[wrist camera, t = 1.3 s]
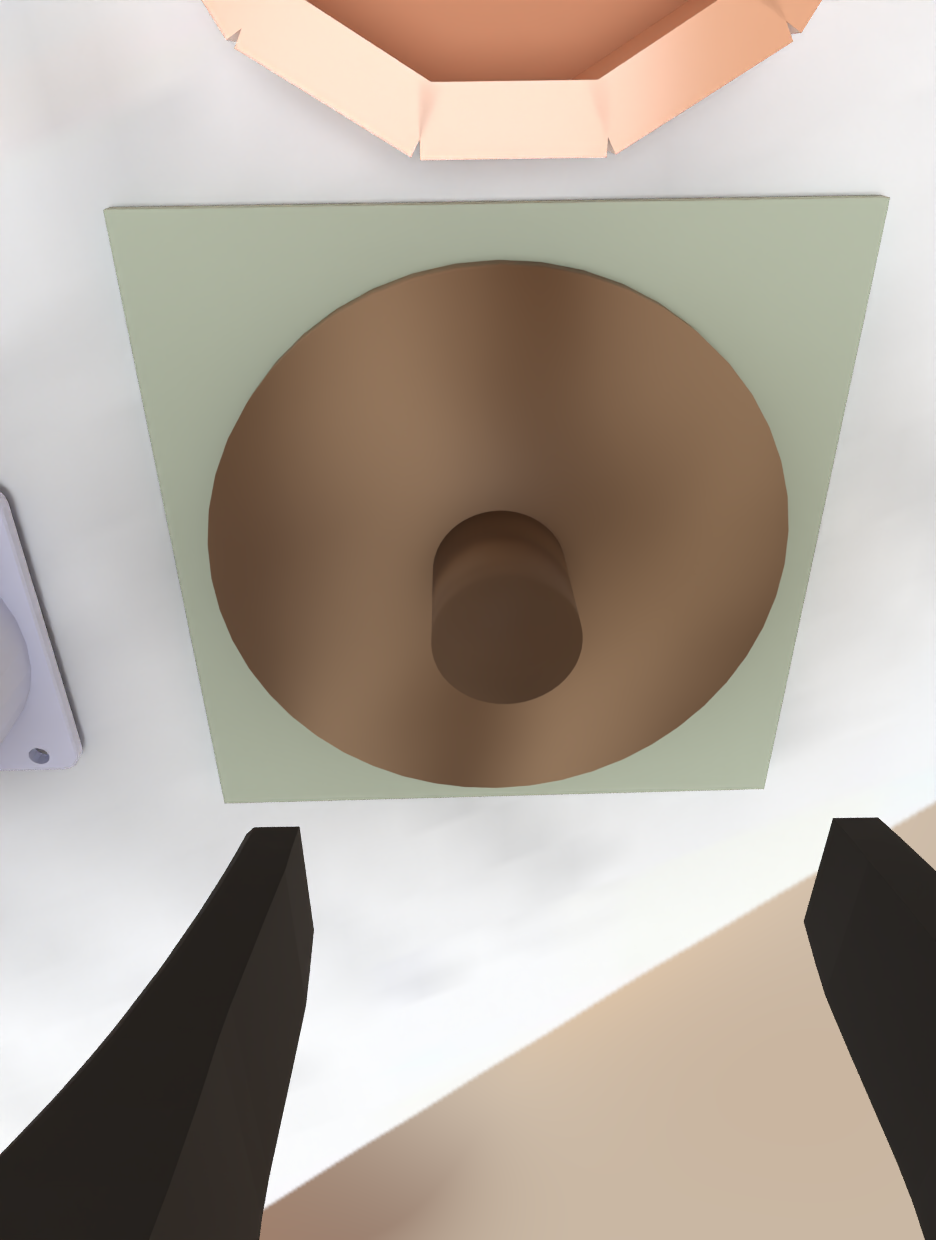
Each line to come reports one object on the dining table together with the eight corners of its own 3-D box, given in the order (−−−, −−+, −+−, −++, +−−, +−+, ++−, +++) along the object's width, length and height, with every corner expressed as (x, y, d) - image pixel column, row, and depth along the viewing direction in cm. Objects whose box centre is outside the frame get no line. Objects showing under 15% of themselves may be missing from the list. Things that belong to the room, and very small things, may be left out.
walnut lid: (257, 774, 24) (228, 882, 21) (165, 266, 17) (101, 309, 14) (734, 762, 24) (778, 867, 21) (827, 253, 18) (915, 293, 14)
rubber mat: (227, 793, 25) (224, 803, 25) (109, 207, 17) (103, 209, 17) (759, 779, 25) (763, 788, 25) (881, 195, 17) (889, 197, 17)
